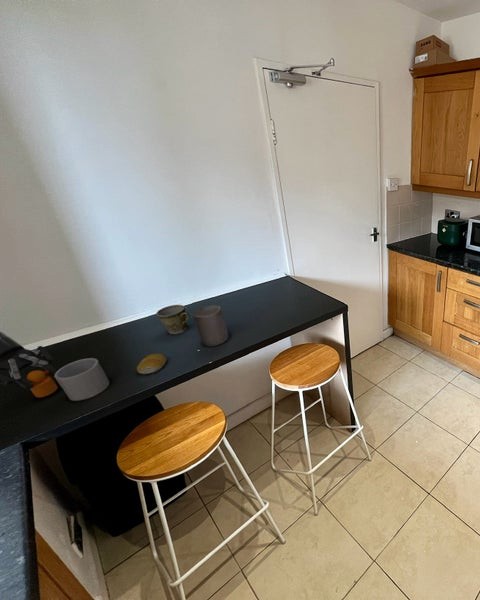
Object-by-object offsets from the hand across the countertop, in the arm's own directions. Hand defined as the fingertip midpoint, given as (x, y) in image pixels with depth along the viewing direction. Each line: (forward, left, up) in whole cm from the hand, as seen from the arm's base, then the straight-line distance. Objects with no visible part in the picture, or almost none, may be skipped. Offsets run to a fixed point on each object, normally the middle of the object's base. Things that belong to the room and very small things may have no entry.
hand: (43, 380), depth 100 cm
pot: (+4, -10, -6) cm, 12 cm away
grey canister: (+38, -30, -6) cm, 49 cm away
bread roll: (+18, -20, -6) cm, 28 cm away
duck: (0, +2, -5) cm, 5 cm away
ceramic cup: (+41, -10, -6) cm, 43 cm away
